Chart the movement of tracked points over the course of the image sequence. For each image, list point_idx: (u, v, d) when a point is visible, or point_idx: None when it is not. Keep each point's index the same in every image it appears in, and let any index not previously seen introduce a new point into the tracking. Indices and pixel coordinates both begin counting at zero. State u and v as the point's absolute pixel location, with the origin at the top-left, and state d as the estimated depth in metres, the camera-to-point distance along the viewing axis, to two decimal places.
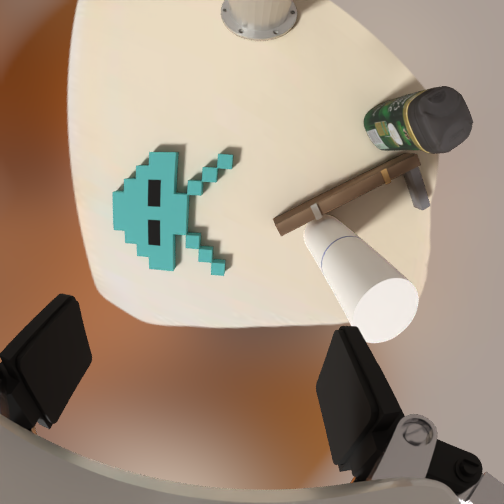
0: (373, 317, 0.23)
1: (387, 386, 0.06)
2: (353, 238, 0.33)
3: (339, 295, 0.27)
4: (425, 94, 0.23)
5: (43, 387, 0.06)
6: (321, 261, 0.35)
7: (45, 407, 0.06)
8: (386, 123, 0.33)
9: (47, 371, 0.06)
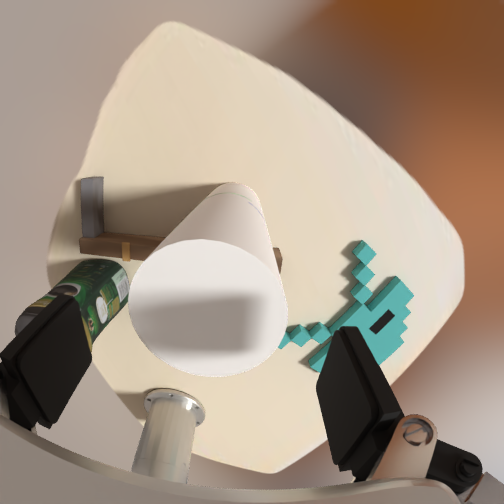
0: (237, 327, 0.12)
1: (387, 386, 0.06)
2: None
3: None
4: None
5: (43, 387, 0.06)
6: None
7: (45, 407, 0.06)
8: (107, 318, 0.31)
9: (47, 371, 0.06)
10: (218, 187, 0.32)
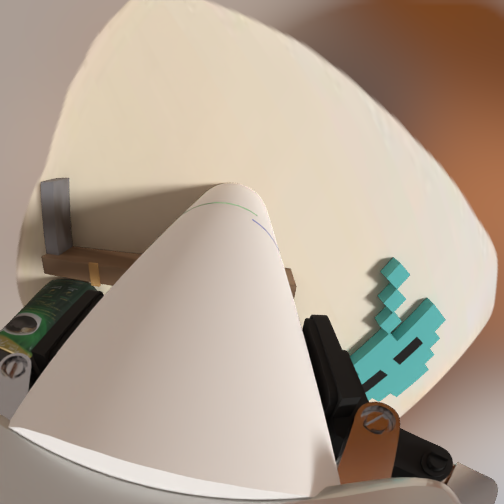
0: None
1: (349, 372, 0.06)
2: None
3: None
4: None
5: None
6: None
7: None
8: None
9: None
10: (210, 190, 0.23)
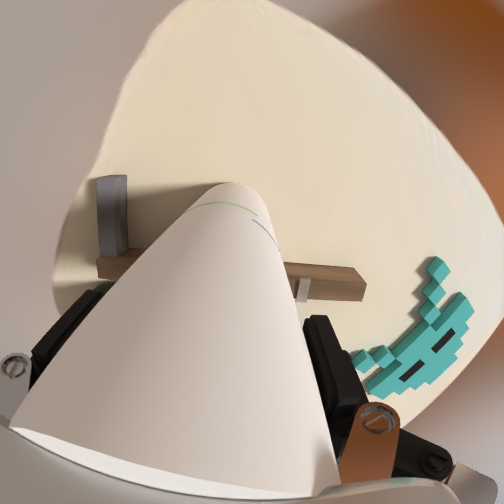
0: None
1: (349, 372, 0.06)
2: None
3: None
4: None
5: None
6: None
7: None
8: None
9: None
10: (210, 190, 0.23)
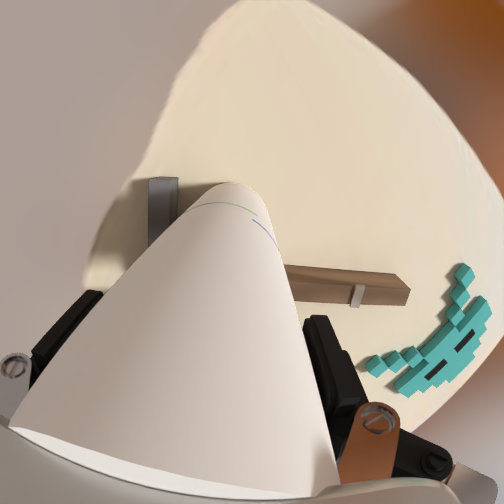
0: None
1: (349, 372, 0.06)
2: None
3: None
4: None
5: None
6: None
7: None
8: None
9: None
10: (210, 190, 0.23)
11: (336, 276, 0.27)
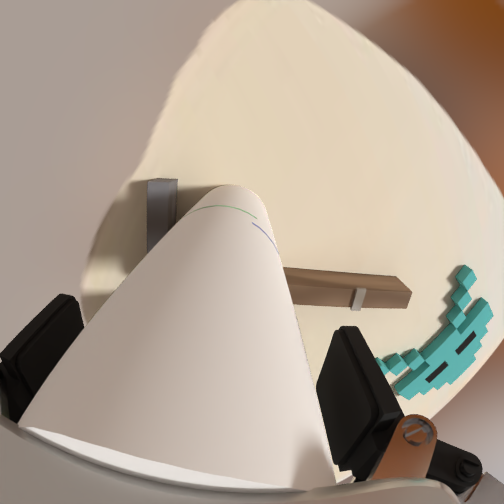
0: None
1: (387, 386, 0.06)
2: None
3: None
4: None
5: None
6: None
7: None
8: None
9: (47, 371, 0.06)
10: (210, 192, 0.23)
11: (337, 279, 0.27)
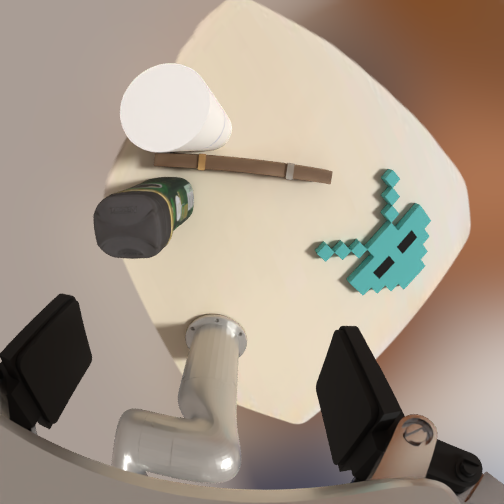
0: (180, 109, 0.18)
1: (387, 386, 0.06)
2: None
3: (211, 129, 0.22)
4: (141, 257, 0.31)
5: (43, 387, 0.06)
6: (218, 137, 0.30)
7: (45, 407, 0.06)
8: (179, 219, 0.38)
9: (47, 371, 0.06)
10: None
11: (277, 162, 0.41)
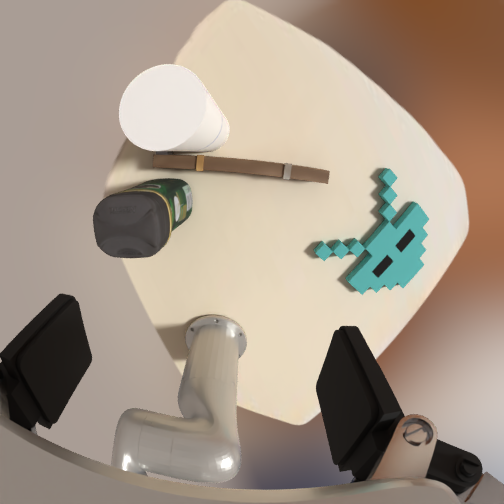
0: (177, 109, 0.18)
1: (387, 386, 0.06)
2: None
3: (208, 128, 0.23)
4: None
5: (43, 387, 0.06)
6: (216, 138, 0.30)
7: (45, 407, 0.06)
8: (178, 220, 0.38)
9: (47, 371, 0.06)
10: None
11: None
